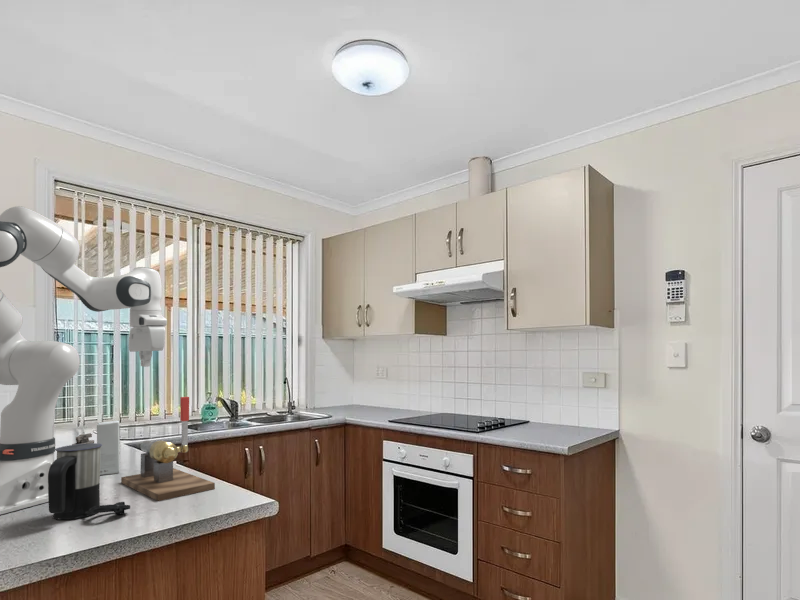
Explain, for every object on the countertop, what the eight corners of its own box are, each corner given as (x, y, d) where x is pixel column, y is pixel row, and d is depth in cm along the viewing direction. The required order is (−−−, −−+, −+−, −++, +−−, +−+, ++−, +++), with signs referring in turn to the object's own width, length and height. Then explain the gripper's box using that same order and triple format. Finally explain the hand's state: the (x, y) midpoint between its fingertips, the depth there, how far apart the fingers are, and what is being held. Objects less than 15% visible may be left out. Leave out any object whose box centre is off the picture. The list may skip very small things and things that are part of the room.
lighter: (78, 469, 165) (78, 436, 166) (68, 469, 166) (69, 436, 167) (96, 463, 173) (97, 432, 174) (87, 463, 174) (88, 432, 175)
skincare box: (119, 473, 158) (119, 422, 159) (95, 476, 155) (96, 424, 157) (119, 468, 165) (120, 419, 167) (97, 470, 163) (98, 421, 164)
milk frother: (58, 511, 122) (60, 444, 123) (135, 502, 127) (136, 438, 128) (41, 530, 108) (43, 456, 110) (127, 519, 114) (128, 448, 115)
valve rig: (121, 482, 146) (121, 439, 147) (172, 473, 156) (173, 432, 157) (158, 501, 127) (158, 451, 128) (214, 488, 137) (214, 442, 138)
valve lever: (179, 452, 146) (180, 397, 147) (186, 451, 147) (186, 396, 148) (183, 453, 144) (183, 397, 145) (189, 452, 145) (189, 397, 147)
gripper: (123, 322, 169) (122, 366, 168) (147, 319, 154) (146, 367, 153) (144, 322, 173) (144, 365, 172) (169, 319, 159) (168, 366, 157)
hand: (145, 366), depth 162 cm, fingers closed
